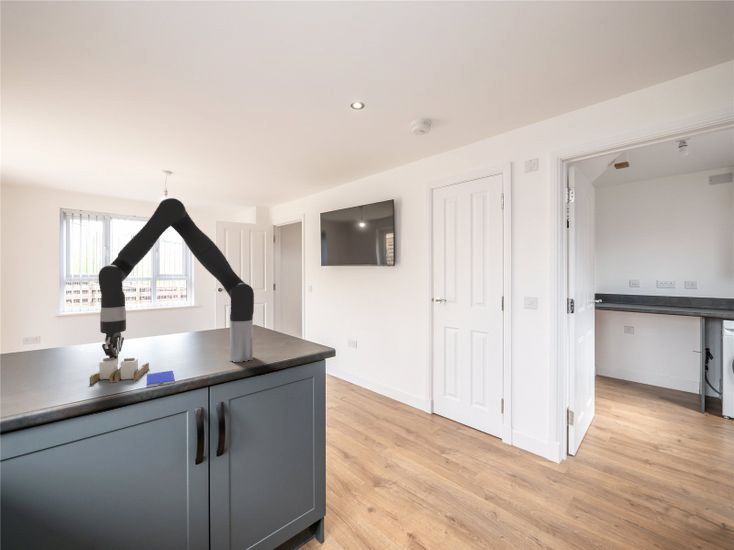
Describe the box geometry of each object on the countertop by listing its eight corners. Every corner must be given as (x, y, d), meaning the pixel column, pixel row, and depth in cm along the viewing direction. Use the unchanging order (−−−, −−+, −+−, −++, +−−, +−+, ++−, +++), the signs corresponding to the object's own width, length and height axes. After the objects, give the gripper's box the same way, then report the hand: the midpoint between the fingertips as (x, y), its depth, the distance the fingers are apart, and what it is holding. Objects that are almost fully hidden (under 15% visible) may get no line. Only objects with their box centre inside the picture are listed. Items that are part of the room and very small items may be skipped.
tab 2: (137, 374, 119) (137, 356, 118) (134, 378, 115) (134, 359, 115) (124, 376, 117) (124, 357, 117) (120, 379, 113) (120, 360, 113)
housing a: (148, 368, 127) (148, 361, 127) (136, 380, 114) (136, 372, 114) (129, 370, 125) (129, 363, 125) (114, 382, 111) (114, 374, 111)
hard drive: (146, 374, 117) (146, 384, 107) (172, 370, 122) (175, 379, 112) (146, 378, 117) (146, 389, 107) (172, 374, 122) (175, 384, 112)
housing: (127, 370, 125) (127, 363, 124) (112, 382, 111) (112, 374, 111) (107, 372, 122) (107, 364, 122) (89, 384, 109) (89, 376, 109)
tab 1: (117, 374, 119) (117, 356, 118) (113, 378, 115) (113, 359, 115) (104, 375, 117) (104, 357, 117) (99, 379, 113) (99, 360, 113)
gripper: (118, 321, 115) (118, 370, 115) (131, 316, 127) (132, 359, 128) (92, 322, 112) (92, 372, 113) (109, 316, 125) (109, 361, 125)
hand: (113, 365), depth 120 cm, fingers closed
